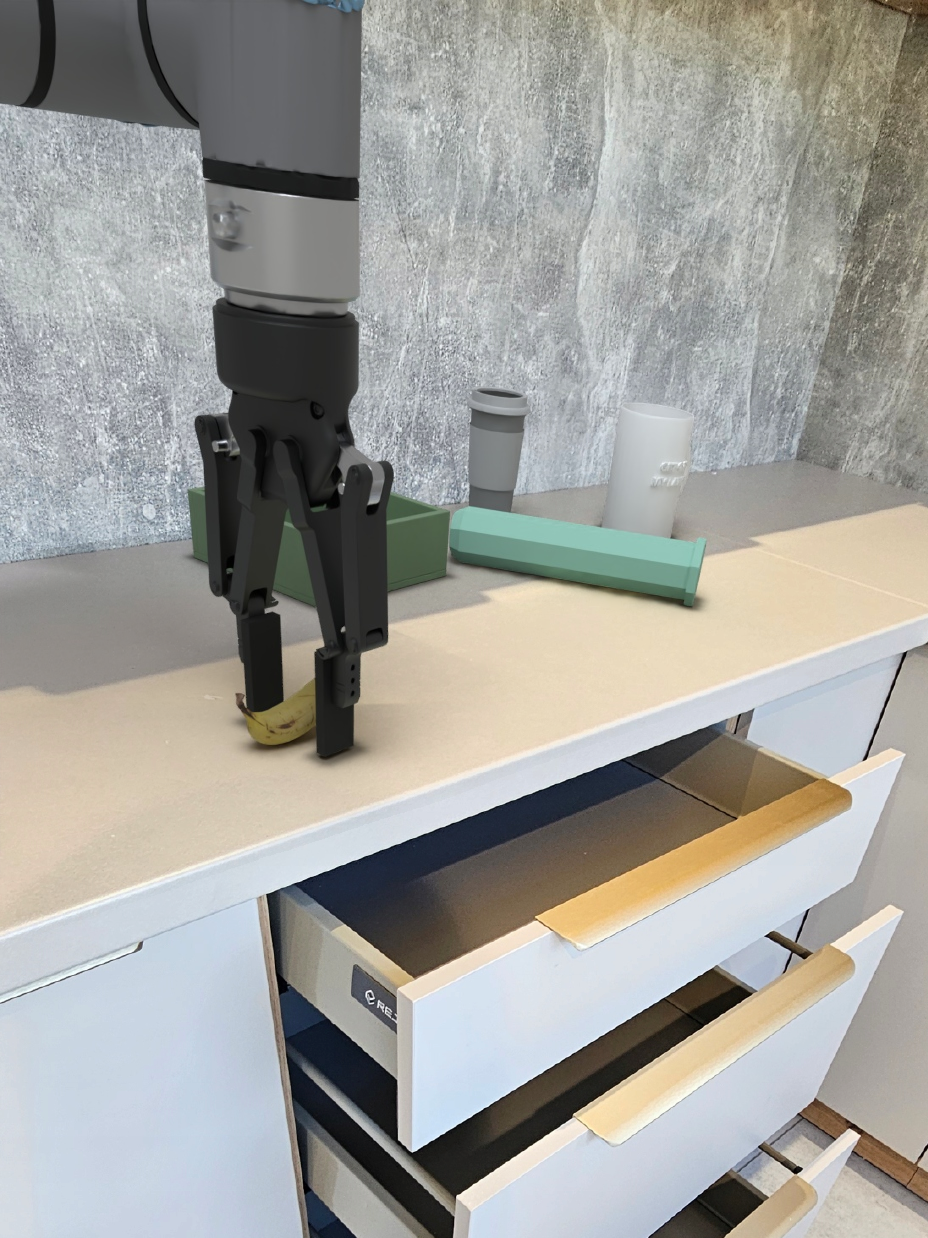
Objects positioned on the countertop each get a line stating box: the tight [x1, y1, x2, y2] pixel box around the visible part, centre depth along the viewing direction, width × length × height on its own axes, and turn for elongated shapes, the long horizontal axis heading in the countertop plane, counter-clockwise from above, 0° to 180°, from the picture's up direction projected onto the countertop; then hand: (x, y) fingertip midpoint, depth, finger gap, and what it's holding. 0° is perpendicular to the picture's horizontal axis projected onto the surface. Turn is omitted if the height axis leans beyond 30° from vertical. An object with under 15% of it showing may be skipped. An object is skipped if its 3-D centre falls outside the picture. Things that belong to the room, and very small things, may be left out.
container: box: [448, 505, 708, 607], centre depth 98 cm, size 6×6×25 cm
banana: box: [234, 677, 316, 746], centre depth 66 cm, size 10×2×4 cm, turn 140°
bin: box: [187, 477, 451, 608], centre depth 92 cm, size 17×17×6 cm
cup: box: [466, 385, 531, 513], centre depth 109 cm, size 7×7×12 cm
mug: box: [601, 402, 695, 539], centre depth 111 cm, size 8×12×12 cm
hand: (299, 731), depth 67 cm, fingers open, 6 cm apart
